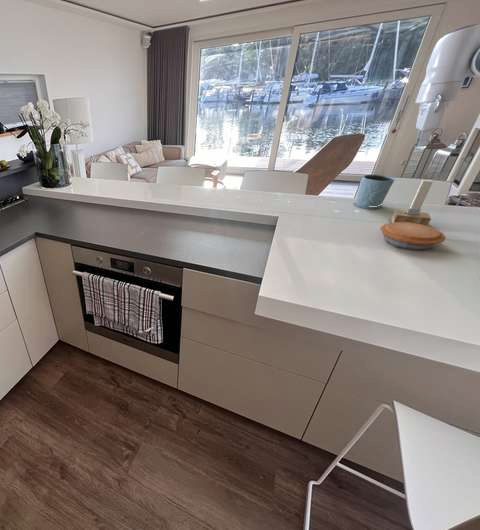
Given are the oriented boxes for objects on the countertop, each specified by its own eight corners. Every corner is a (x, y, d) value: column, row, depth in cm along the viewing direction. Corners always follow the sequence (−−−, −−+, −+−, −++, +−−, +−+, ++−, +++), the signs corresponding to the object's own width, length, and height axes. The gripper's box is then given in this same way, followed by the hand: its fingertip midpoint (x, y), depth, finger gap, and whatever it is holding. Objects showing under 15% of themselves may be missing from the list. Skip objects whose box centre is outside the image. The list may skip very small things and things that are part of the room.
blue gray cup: (352, 200, 129) (361, 173, 123) (381, 202, 124) (392, 174, 118) (354, 208, 122) (364, 179, 116) (385, 210, 117) (397, 181, 111)
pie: (369, 231, 103) (374, 218, 100) (424, 233, 98) (431, 220, 95) (387, 250, 91) (393, 236, 88) (451, 255, 86) (460, 240, 83)
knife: (413, 223, 105) (433, 180, 97) (413, 225, 104) (434, 181, 96) (402, 222, 106) (421, 179, 98) (402, 224, 105) (422, 180, 97)
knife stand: (423, 223, 105) (428, 212, 103) (426, 229, 101) (431, 218, 99) (390, 219, 109) (395, 209, 107) (392, 225, 105) (396, 215, 103)
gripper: (459, 92, 76) (438, 147, 82) (447, 95, 90) (430, 142, 96) (426, 95, 80) (408, 148, 86) (419, 97, 94) (405, 143, 100)
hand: (420, 145), depth 91 cm, fingers open, 8 cm apart
